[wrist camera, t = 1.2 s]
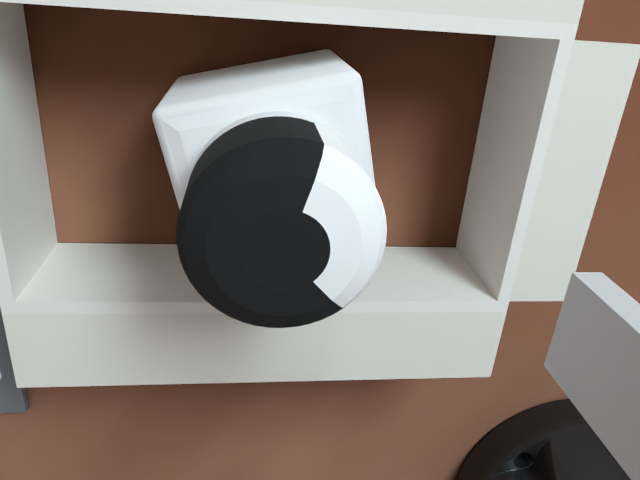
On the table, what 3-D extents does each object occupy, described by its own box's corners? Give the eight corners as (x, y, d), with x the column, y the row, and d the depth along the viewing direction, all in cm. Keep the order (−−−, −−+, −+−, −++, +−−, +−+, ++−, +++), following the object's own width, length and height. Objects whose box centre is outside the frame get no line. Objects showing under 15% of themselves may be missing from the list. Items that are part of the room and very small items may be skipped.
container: (213, 221, 30) (191, 378, 18) (173, 76, 26) (114, 152, 14) (353, 194, 30) (421, 330, 18) (332, 46, 26) (399, 98, 15)
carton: (497, 313, 34) (544, 375, 29) (0, 317, 30) (-54, 389, 25) (590, -73, 26) (683, -87, 20) (-95, -140, 22) (-209, -180, 16)
